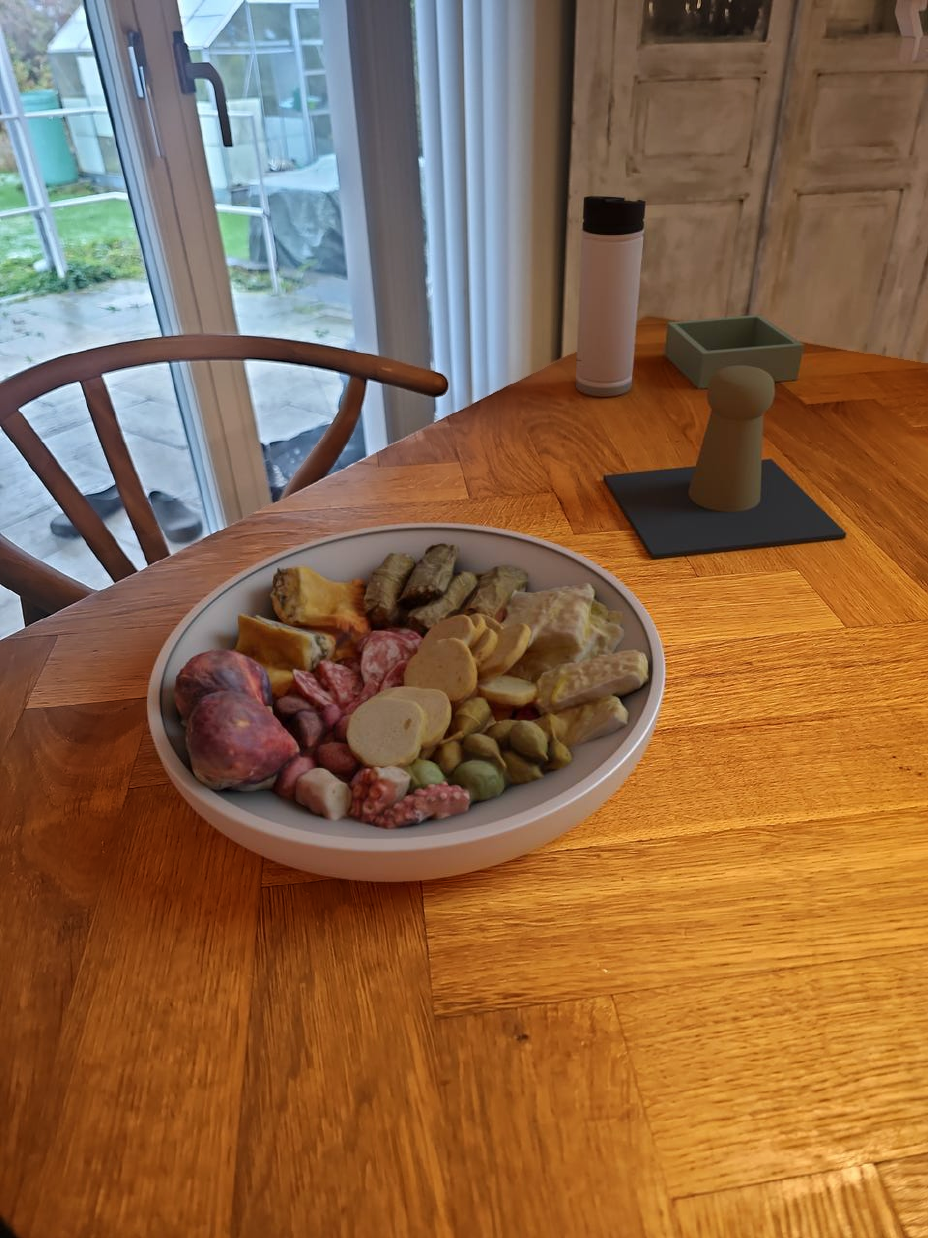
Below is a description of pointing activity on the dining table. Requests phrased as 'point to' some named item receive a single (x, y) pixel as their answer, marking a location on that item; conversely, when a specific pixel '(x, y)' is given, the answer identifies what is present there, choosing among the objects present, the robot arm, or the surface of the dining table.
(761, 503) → the mat
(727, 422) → the brown tapered knobbed piece
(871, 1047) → the dining table surface
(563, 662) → the bowl
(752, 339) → the box
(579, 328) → the travel mug
